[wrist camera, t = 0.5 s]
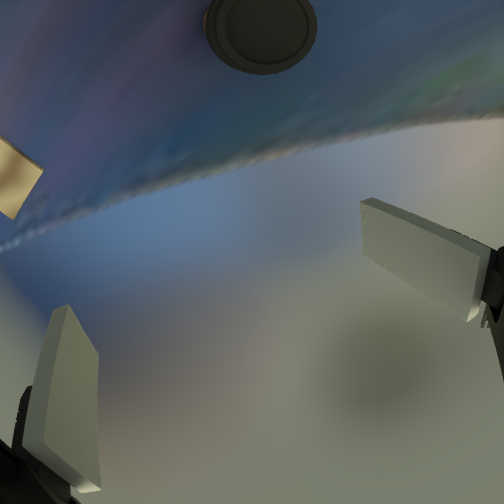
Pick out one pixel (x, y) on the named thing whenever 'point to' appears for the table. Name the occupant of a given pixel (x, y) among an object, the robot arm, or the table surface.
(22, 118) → the table surface
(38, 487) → the robot arm
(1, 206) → the coaster
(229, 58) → the coffee cup
